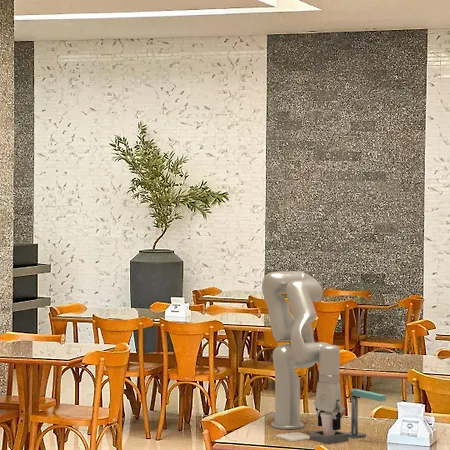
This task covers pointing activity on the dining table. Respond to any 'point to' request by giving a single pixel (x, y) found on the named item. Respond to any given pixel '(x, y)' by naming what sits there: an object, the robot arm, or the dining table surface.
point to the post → (354, 419)
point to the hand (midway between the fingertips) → (329, 427)
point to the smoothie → (327, 423)
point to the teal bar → (368, 395)
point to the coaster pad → (294, 436)
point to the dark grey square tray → (329, 437)
